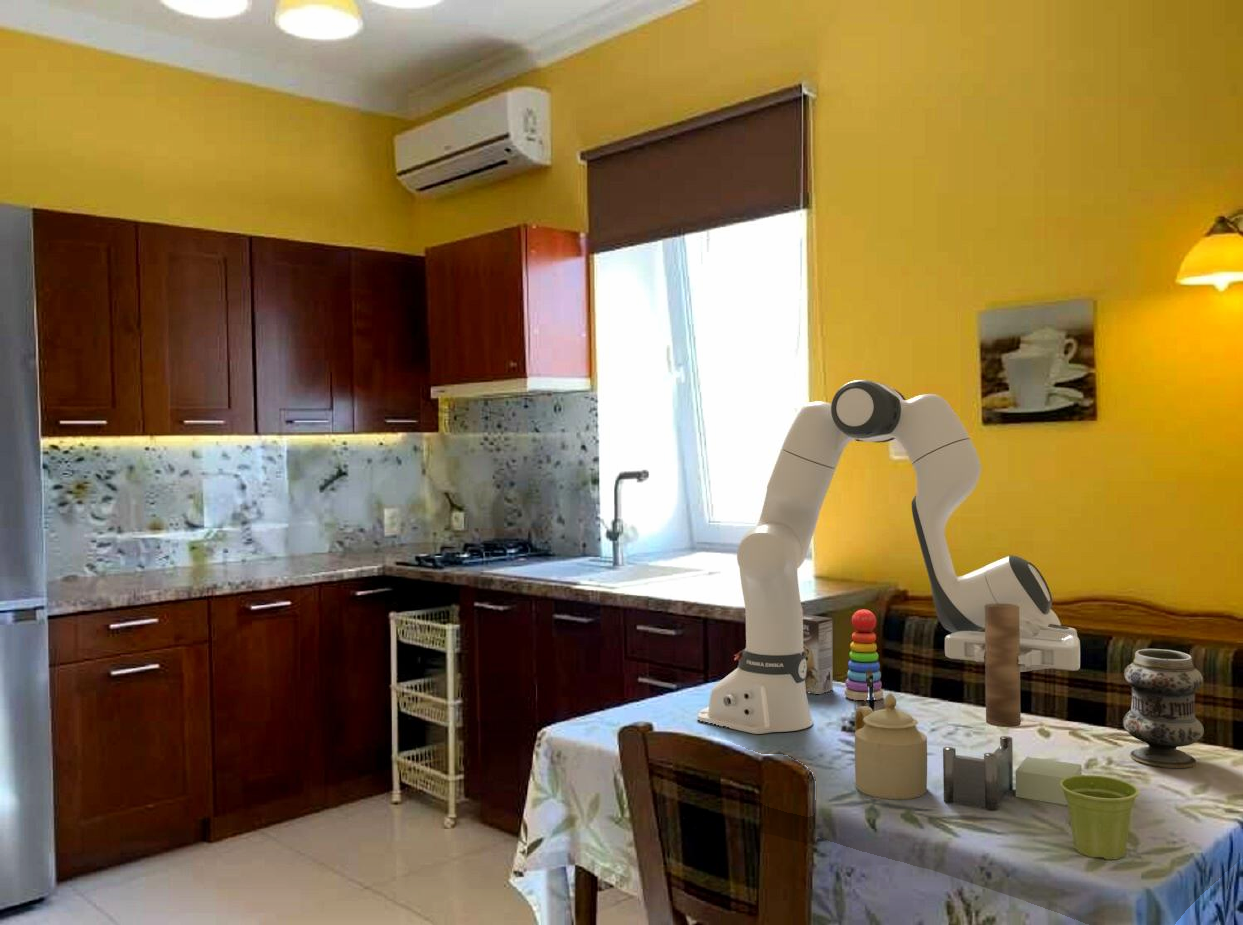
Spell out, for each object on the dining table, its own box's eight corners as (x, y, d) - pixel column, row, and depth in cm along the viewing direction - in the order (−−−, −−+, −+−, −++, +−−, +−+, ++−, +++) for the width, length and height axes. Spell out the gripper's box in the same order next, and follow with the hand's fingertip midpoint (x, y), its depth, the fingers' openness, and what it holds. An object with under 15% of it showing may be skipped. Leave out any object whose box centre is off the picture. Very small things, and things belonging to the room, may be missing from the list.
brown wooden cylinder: (982, 724, 157) (981, 607, 157) (990, 716, 162) (988, 602, 161) (1016, 728, 155) (1015, 609, 154) (1023, 721, 159) (1022, 604, 158)
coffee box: (782, 689, 227) (781, 616, 227) (799, 684, 232) (797, 612, 231) (818, 695, 221) (817, 620, 221) (834, 690, 226) (833, 616, 225)
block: (1015, 796, 157) (1015, 770, 156) (1027, 781, 163) (1026, 756, 163) (1072, 806, 152) (1072, 779, 152) (1081, 790, 159) (1081, 764, 159)
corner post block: (942, 802, 155) (941, 749, 155) (963, 779, 165) (962, 730, 165) (995, 811, 151) (995, 757, 150) (1014, 788, 160) (1013, 737, 160)
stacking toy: (884, 703, 214) (883, 613, 213) (844, 701, 215) (843, 612, 215) (882, 693, 221) (881, 607, 221) (844, 692, 223) (843, 606, 223)
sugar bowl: (821, 782, 165) (819, 689, 165) (861, 767, 172) (860, 677, 172) (901, 805, 154) (900, 705, 154) (941, 788, 161) (940, 692, 161)
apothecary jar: (1204, 775, 165) (1203, 663, 165) (1121, 764, 171) (1120, 657, 171) (1203, 754, 175) (1203, 649, 175) (1125, 745, 181) (1124, 644, 181)
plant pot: (1103, 871, 129) (1102, 802, 129) (1045, 845, 138) (1044, 781, 138) (1155, 858, 133) (1155, 791, 133) (1096, 833, 142) (1095, 770, 142)
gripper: (956, 619, 174) (932, 632, 163) (1087, 629, 163) (1071, 644, 152) (956, 656, 174) (933, 672, 163) (1087, 668, 163) (1072, 687, 152)
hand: (1001, 659), depth 157 cm, fingers closed on brown wooden cylinder, 5 cm apart
